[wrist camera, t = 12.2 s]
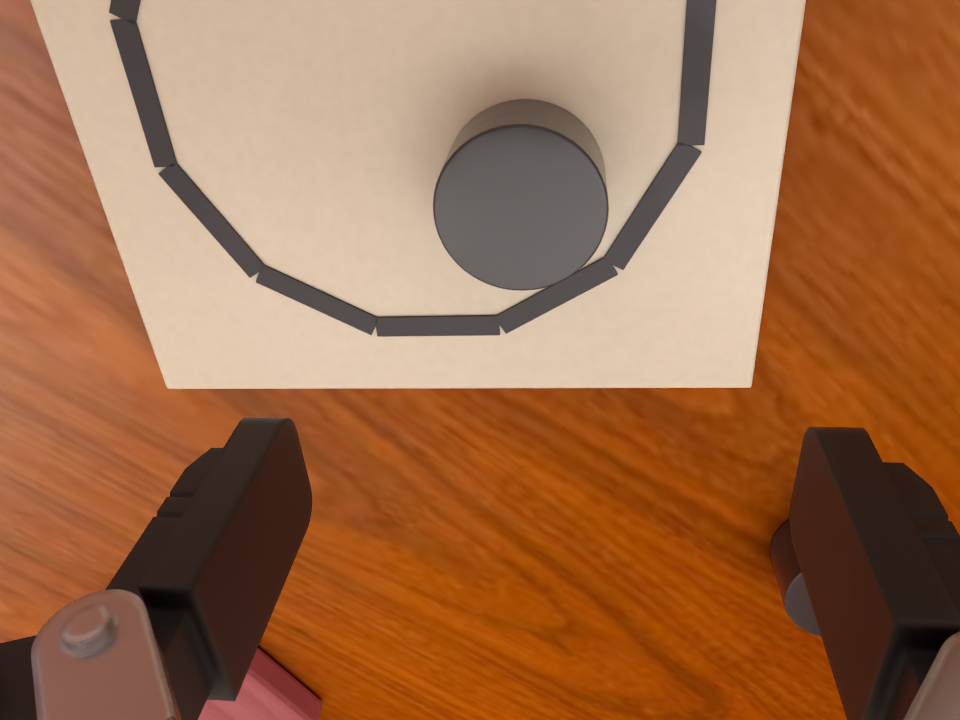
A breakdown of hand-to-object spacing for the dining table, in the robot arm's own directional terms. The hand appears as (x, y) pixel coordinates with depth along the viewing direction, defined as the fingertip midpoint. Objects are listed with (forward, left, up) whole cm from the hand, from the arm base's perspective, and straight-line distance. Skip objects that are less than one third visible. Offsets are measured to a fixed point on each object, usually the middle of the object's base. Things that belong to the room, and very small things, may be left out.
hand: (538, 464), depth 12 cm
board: (+4, -3, -13) cm, 14 cm away
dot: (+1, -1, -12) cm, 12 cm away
